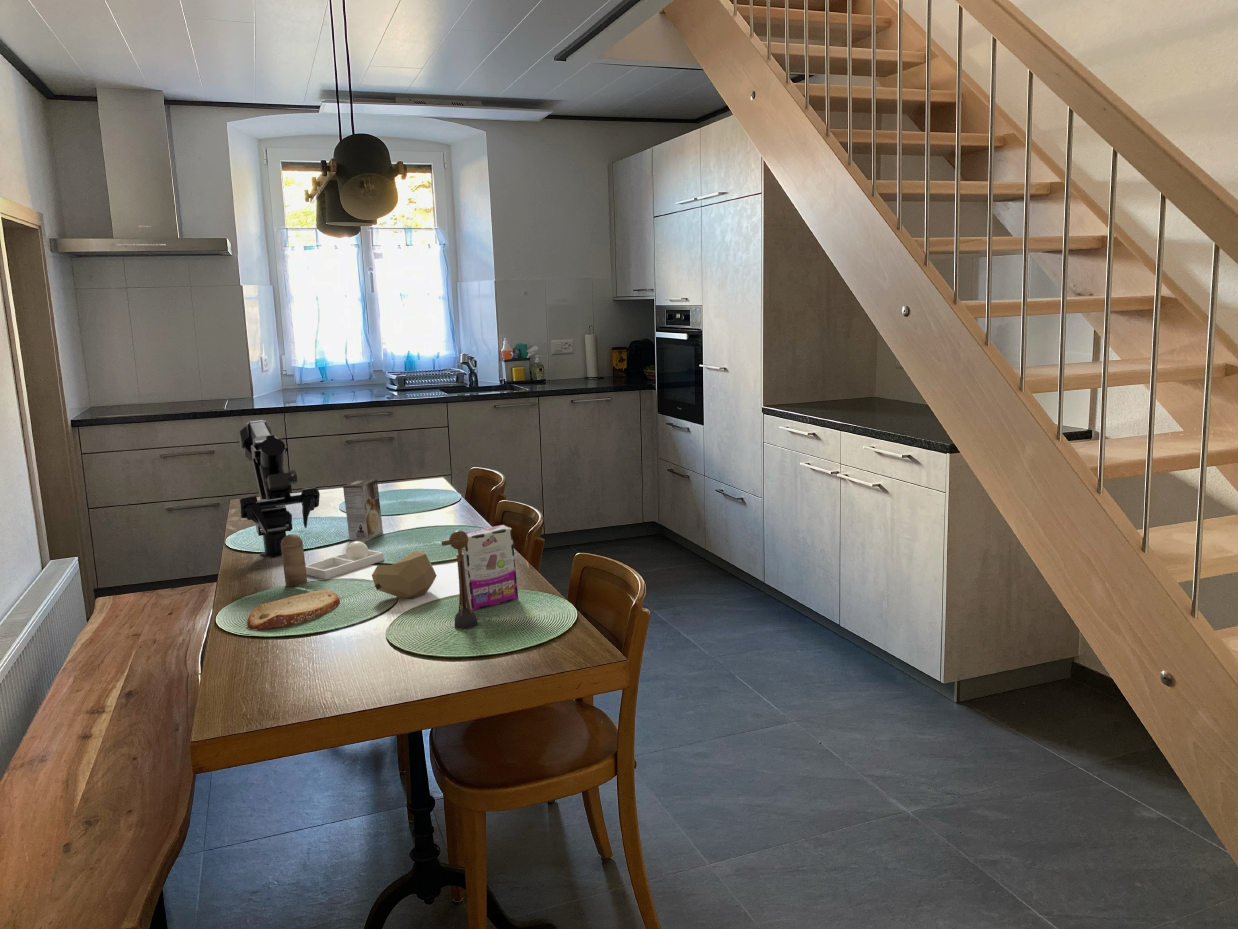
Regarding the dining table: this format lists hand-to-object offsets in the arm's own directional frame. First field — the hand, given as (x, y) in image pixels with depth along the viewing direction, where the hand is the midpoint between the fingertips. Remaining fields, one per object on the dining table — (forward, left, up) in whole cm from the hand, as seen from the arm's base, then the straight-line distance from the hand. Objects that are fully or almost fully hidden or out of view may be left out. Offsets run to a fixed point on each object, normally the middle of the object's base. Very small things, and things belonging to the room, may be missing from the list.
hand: (286, 530), depth 222 cm
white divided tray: (+6, +11, -12) cm, 18 cm away
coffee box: (-16, +35, -12) cm, 41 cm away
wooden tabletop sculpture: (+64, -3, -12) cm, 65 cm away
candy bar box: (+59, +10, -13) cm, 61 cm away
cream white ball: (+6, +16, -12) cm, 20 cm away
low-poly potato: (+38, +4, -12) cm, 40 cm away
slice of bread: (+24, -16, -13) cm, 32 cm away
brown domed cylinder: (+6, -3, -12) cm, 14 cm away
